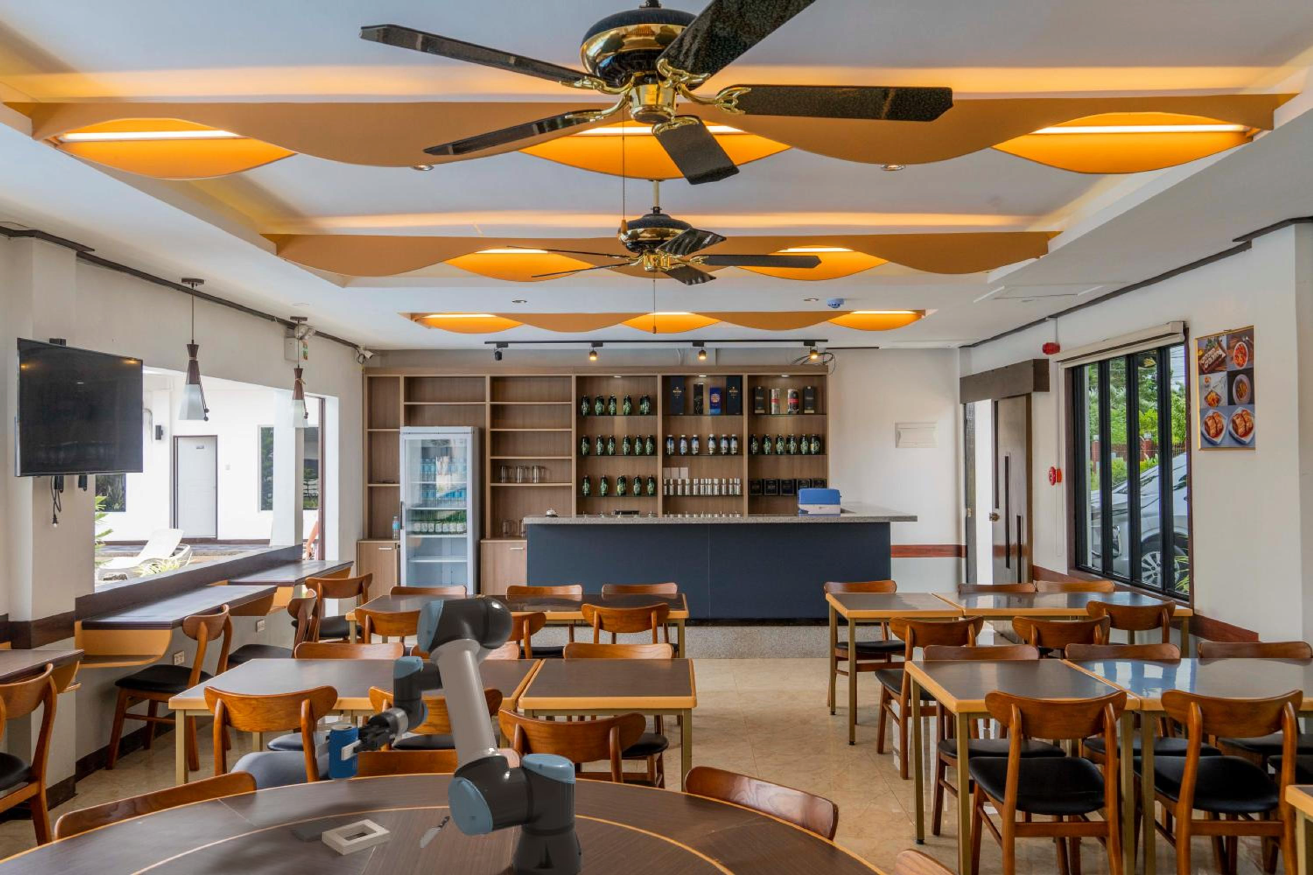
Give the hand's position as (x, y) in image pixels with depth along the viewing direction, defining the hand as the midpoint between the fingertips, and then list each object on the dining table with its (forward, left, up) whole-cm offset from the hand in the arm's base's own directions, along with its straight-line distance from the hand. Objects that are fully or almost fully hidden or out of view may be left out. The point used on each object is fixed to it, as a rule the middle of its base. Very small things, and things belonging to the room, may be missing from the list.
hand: (329, 752), depth 198 cm
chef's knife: (-11, -20, -21) cm, 31 cm away
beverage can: (+2, -4, -7) cm, 9 cm away
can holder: (-3, -5, -21) cm, 22 cm away
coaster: (+9, -1, -21) cm, 23 cm away
